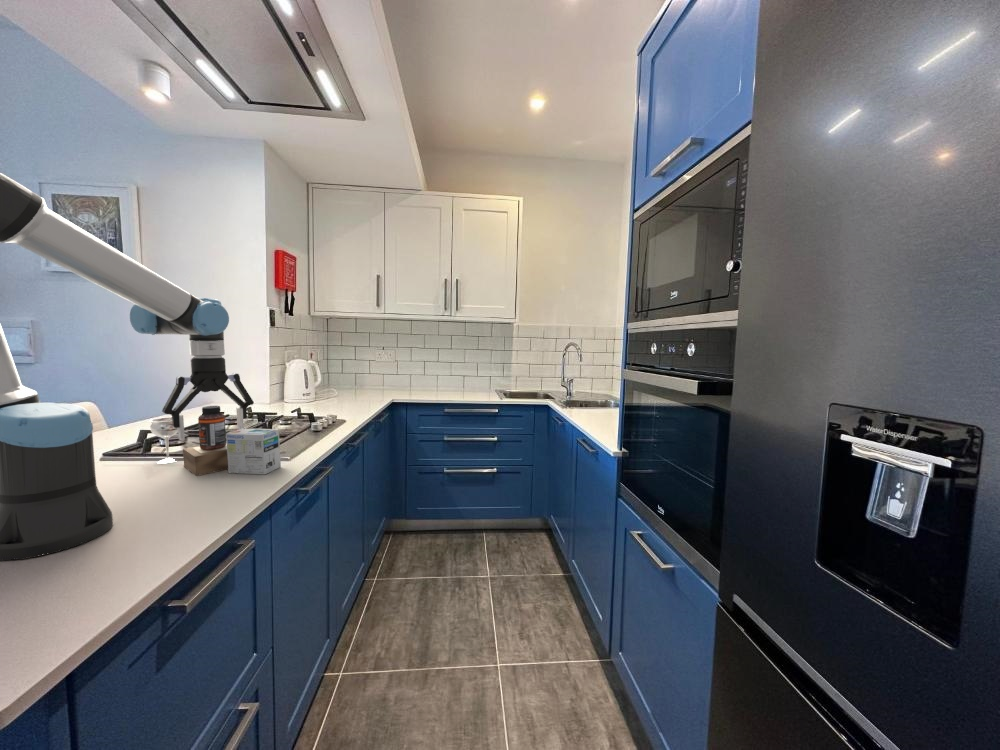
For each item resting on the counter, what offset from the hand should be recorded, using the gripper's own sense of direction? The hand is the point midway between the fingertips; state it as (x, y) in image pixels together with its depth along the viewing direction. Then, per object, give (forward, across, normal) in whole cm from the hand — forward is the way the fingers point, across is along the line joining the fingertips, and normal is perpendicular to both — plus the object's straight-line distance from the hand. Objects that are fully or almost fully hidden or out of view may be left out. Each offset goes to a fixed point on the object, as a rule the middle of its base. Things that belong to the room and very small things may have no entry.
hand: (212, 434), depth 111 cm
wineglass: (+9, -7, +15) cm, 19 cm away
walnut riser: (+9, 0, 0) cm, 9 cm away
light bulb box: (+9, +6, -12) cm, 16 cm away
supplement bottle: (+4, 0, 0) cm, 4 cm away
